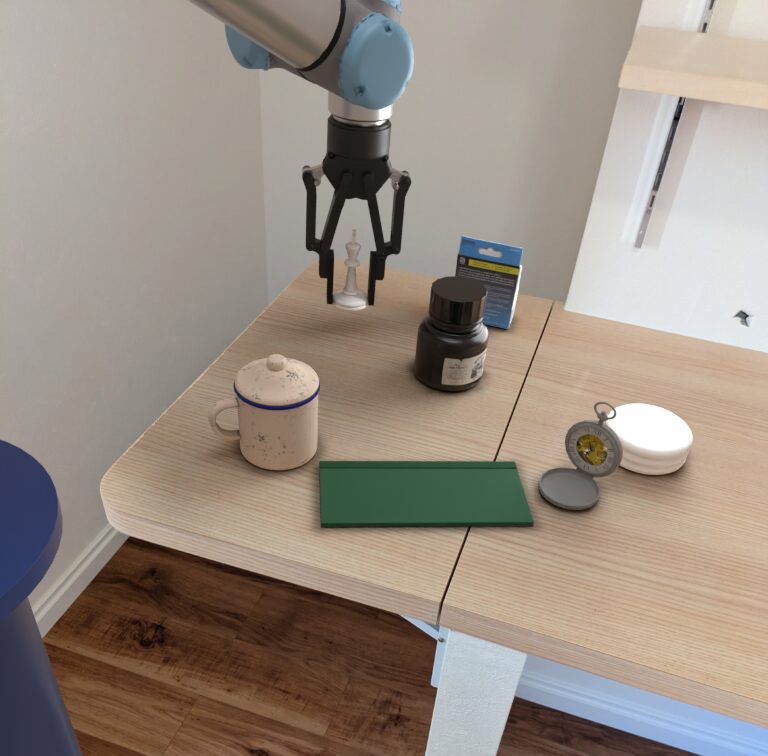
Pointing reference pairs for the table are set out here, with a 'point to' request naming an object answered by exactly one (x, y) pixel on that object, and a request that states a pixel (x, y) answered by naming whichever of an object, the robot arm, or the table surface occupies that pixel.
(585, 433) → the pocket watch
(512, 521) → the green rectangular panel
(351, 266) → the chess piece
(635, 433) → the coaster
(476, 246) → the label tape box
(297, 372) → the teacup with lid
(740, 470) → the table surface
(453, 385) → the ink bottle
